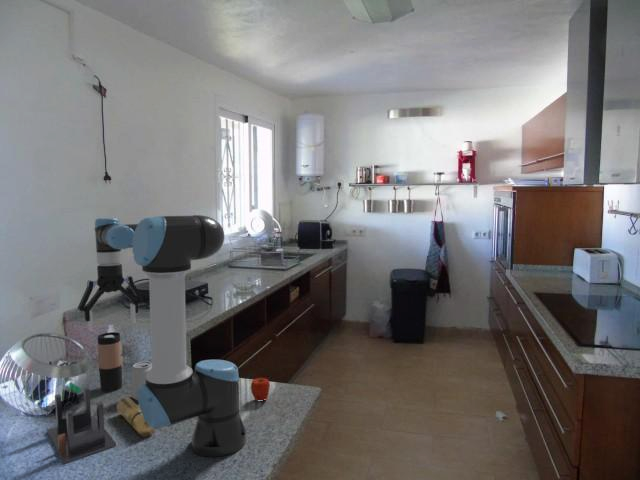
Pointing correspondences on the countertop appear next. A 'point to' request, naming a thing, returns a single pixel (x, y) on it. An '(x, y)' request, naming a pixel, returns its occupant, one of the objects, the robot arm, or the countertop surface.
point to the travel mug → (110, 361)
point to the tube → (134, 416)
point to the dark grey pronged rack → (79, 431)
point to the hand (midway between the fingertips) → (112, 326)
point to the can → (139, 376)
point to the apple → (260, 388)
